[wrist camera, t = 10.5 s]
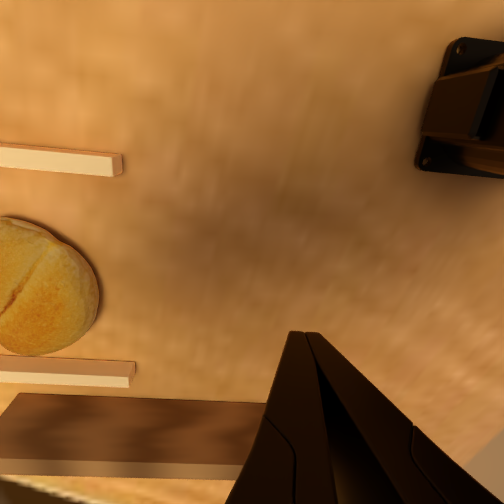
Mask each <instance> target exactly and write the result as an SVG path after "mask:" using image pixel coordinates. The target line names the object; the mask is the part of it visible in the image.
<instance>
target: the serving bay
mask: <svg viewBox="0 0 504 504" xmlns="http://www.w3.org/2000/svg"><path fill="white" fill-rule="evenodd" d="M0 167H10V168H21V169H32V170H43V171H54V172H65V173H76V174H88V175H99V176H110V177H114V176H116V175H118V174H120V173H123V168H122V154H113V153H102V152H92V151H81V150H70V149H60V148H49V147H39V146H28V145H18V144H7V143H0ZM134 375H135V362H126V361H106V360H86V359H66V358H46V357H26V356H6V355H0V382H11V383H33V384H56V385H78V386H101V387H123V388H129V387H130V384H131V382H132V379H133V377H134Z"/></svg>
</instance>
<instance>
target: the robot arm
mask: <svg viewBox="0 0 504 504" xmlns="http://www.w3.org/2000/svg"><path fill="white" fill-rule="evenodd" d="M458 45H460V46H461V48H462V49H461V53H460V54H457V52H456V50H457V47H458ZM421 131H422V138H421V141H420V145H419V148H418V152H417V155H416V159H415V167H416V168H417V169H419V170H423V171H429V172H440V173H450V174H460V175H470V176H481V177H491V178H501V179H504V42H500V41H492V40H484V39H477V38H469V37H461V38H458V39H456V40H454V41H452V42H451V44H450V45H449V46H448V49H447V52H446V55H445V59H444V62H443V65H442V69H441V72H440V76H439V79H438V80H437V81H436V82H435V84H434V87H433V91H432V94H431V98H430V101H429V105H428V108H427V112H426V115H425V119H424V122H423V126H422V129H421ZM425 158H427V159H428V162H427V163H426V164H425V165H423V160H424V159H425ZM225 504H504V503H502V502H501V501H500V500H499V499H498V498H496V497H495V496H494V495H493V494H492V493H491V492H489V491H488V490H487V489H486V488H484V487H483V486H482V485H481V484H480V483H479V482H478V481H476V480H475V479H474V478H473V477H472V476H471V475H469V474H468V473H467V472H466V471H465V470H464V469H463V468H461V467H460V466H459V465H458V464H457V463H456V462H454V461H453V460H452V459H451V458H450V457H449V456H448V455H447V454H446V453H445V452H443V451H442V450H441V449H440V448H439V447H438V446H437V445H436V444H435V443H434V442H433V441H432V440H431V439H429V438H428V437H427V436H426V435H425V434H424V433H423V432H422V431H421V430H420V429H419V428H418V427H417V426H415V425H414V426H413V422H412V421H411V420H410V419H408V418H407V417H406V416H405V415H404V414H403V413H402V412H401V411H400V410H399V409H398V408H397V407H396V406H395V405H394V404H393V403H392V402H391V401H390V400H389V399H388V398H387V397H386V396H385V395H383V394H382V393H381V392H380V391H379V390H378V389H377V388H376V387H375V386H374V385H373V384H372V383H371V382H370V381H369V380H368V379H367V378H366V377H365V376H364V375H363V374H362V373H361V372H360V371H359V370H357V369H356V368H355V367H354V366H353V365H352V364H351V363H350V362H349V361H348V360H347V359H346V358H345V357H344V356H343V355H342V354H341V353H340V352H339V351H338V350H337V349H336V348H335V347H334V346H332V345H331V344H330V343H329V342H328V341H327V340H326V339H325V338H324V337H323V336H322V335H321V334H320V333H318V332H305V333H304V332H302V331H290V332H289V334H288V337H287V340H286V343H285V346H284V349H283V353H282V356H281V359H280V362H279V365H278V368H277V371H276V374H275V378H274V381H273V384H272V387H271V390H270V393H269V396H268V399H267V403H266V406H265V409H264V412H263V415H262V418H261V421H260V424H259V427H258V430H257V433H256V436H255V439H254V441H253V444H252V447H251V449H250V452H249V454H248V456H247V459H246V461H245V463H244V465H243V467H242V469H241V472H240V474H239V476H238V478H237V480H236V482H235V484H234V486H233V488H232V490H231V492H230V494H229V496H228V498H227V500H226V502H225Z"/></svg>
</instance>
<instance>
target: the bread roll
mask: <svg viewBox="0 0 504 504" xmlns="http://www.w3.org/2000/svg"><path fill="white" fill-rule="evenodd" d="M98 304H99V291H98V285H97V280H96V277H95V275H94V273H93V270H92V268H91V267H90V265H89V264H88V262H87V261H86V260H85V259H84V258H83V257H82V256H81V255H80V254H79V253H78V252H77V251H76V250H75V249H73V248H72V247H71V246H69V245H67V244H65V243H63V242H60V241H59V240H57V239H56V238H55V237H54V236H53V235H52V234H51V233H49V232H48V231H47V230H45V229H43V228H41V227H39V226H36V225H34V224H32V223H29V222H26V221H23V220H18V219H14V218H8V217H0V344H1V345H2V346H3V347H4V348H6V349H7V350H9V351H11V352H14V353H17V354H22V355H29V356H36V355H44V354H49V353H52V352H56V351H58V350H61V349H63V348H66V347H68V346H70V345H71V344H73V343H74V342H76V341H77V340H79V339H80V338H81V337H82V336H84V334H85V333H86V332H87V331H88V329H89V328H90V327H91V325H92V323H93V322H94V319H95V317H96V314H97V308H98Z"/></svg>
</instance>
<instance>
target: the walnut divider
mask: <svg viewBox="0 0 504 504" xmlns="http://www.w3.org/2000/svg"><path fill="white" fill-rule="evenodd" d="M265 406H266V404H264V403H240V402H216V401H193V400H169V399H145V398H122V397H98V396H74V395H50V394H27V393H19V394H18V395H17V396H16V397H15V399H14V400H13V401H12V402H11V404H10V405H9V406H8V407H7V409H6V410H5V411H4V412H3V413H2V415H1V416H0V475H40V476H80V477H120V478H160V479H200V480H237V478H238V476H239V474H240V472H241V469H242V467H243V465H244V463H245V461H246V459H247V456H248V454H249V452H250V449H251V447H252V444H253V441H254V439H255V436H256V433H257V430H258V427H259V424H260V421H261V418H262V415H263V412H264V409H265Z"/></svg>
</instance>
